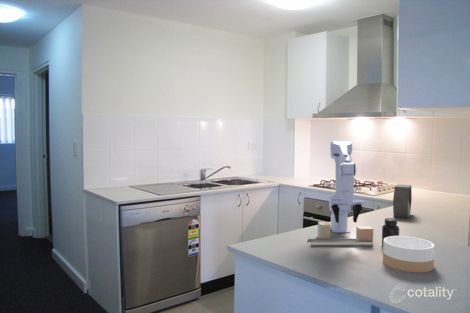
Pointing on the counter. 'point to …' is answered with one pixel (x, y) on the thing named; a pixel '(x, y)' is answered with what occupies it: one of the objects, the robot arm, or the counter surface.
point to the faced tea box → (364, 233)
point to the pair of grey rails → (339, 242)
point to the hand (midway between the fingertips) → (345, 222)
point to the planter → (402, 201)
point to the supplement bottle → (390, 228)
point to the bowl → (408, 253)
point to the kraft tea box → (323, 230)
